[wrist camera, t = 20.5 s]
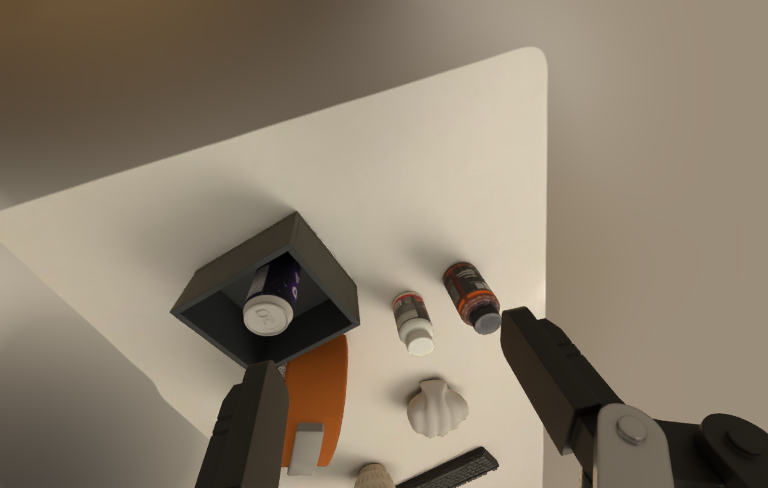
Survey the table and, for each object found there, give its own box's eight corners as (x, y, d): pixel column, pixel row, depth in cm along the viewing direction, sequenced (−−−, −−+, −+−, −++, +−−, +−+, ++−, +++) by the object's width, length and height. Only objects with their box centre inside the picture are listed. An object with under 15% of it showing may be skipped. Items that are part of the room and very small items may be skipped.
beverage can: (272, 282, 47) (255, 344, 37) (253, 252, 44) (229, 310, 34) (308, 270, 47) (300, 329, 37) (291, 240, 44) (278, 294, 34)
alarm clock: (294, 317, 52) (279, 414, 38) (347, 322, 55) (352, 416, 40) (280, 404, 63) (264, 505, 49) (325, 405, 65) (322, 502, 51)
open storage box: (196, 270, 45) (169, 312, 38) (297, 210, 43) (289, 243, 35) (268, 333, 53) (257, 378, 46) (356, 285, 51) (360, 325, 43)
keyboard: (392, 508, 95) (393, 516, 93) (371, 497, 89) (372, 506, 87) (497, 461, 88) (500, 469, 87) (482, 446, 83) (485, 454, 81)
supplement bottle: (448, 295, 54) (472, 346, 45) (438, 270, 51) (462, 319, 42) (480, 281, 54) (512, 330, 44) (472, 255, 51) (504, 302, 41)
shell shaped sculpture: (444, 415, 73) (453, 444, 68) (395, 409, 69) (401, 440, 64) (472, 380, 68) (485, 408, 62) (421, 371, 64) (429, 401, 58)
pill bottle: (427, 305, 55) (444, 350, 47) (400, 319, 56) (412, 365, 47) (414, 285, 52) (429, 328, 44) (386, 300, 53) (396, 345, 45)
